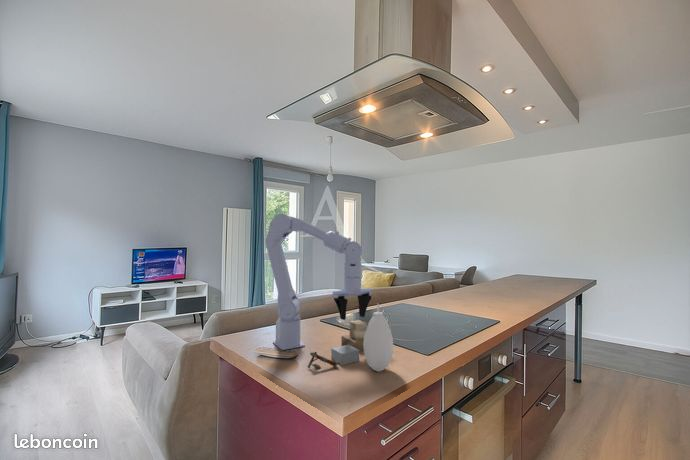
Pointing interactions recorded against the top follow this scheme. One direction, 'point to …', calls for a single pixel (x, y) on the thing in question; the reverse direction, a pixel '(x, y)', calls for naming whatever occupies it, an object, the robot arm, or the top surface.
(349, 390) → the top surface
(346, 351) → the slate grey block
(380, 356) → the sauce bottle
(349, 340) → the tan square slab
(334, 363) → the toy blunderbuss
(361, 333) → the maple block
